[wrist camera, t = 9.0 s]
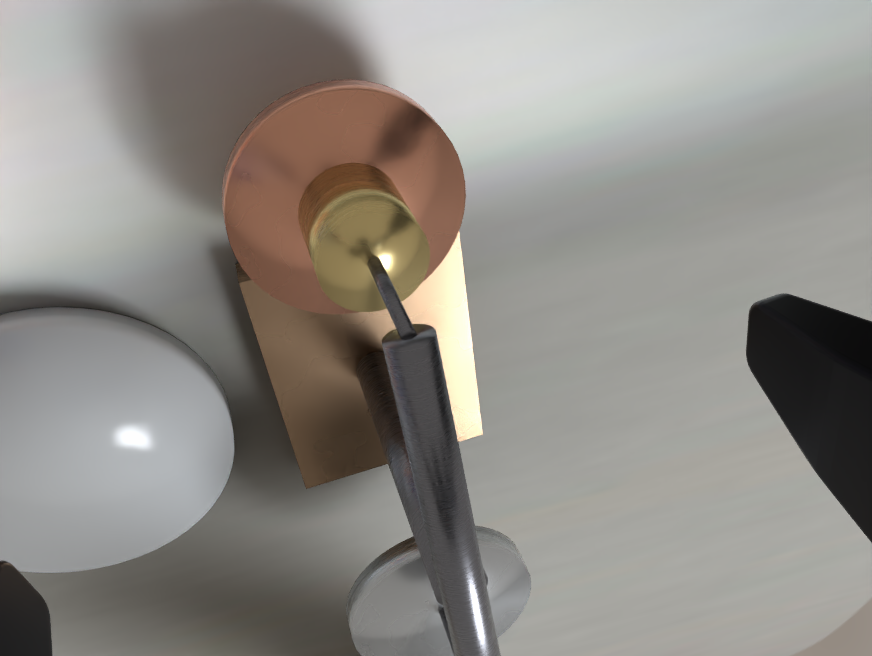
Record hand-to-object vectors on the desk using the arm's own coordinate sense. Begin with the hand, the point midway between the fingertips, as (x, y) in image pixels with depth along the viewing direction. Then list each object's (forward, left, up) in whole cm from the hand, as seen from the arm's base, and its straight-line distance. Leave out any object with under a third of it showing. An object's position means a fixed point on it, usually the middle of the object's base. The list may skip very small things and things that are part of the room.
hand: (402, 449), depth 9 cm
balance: (+3, +8, -13) cm, 15 cm away
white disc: (+11, +4, -13) cm, 17 cm away
